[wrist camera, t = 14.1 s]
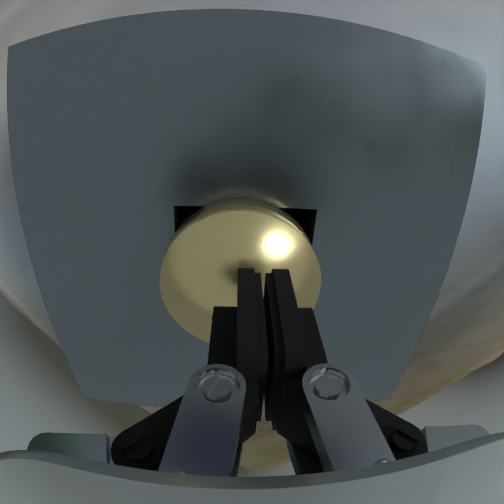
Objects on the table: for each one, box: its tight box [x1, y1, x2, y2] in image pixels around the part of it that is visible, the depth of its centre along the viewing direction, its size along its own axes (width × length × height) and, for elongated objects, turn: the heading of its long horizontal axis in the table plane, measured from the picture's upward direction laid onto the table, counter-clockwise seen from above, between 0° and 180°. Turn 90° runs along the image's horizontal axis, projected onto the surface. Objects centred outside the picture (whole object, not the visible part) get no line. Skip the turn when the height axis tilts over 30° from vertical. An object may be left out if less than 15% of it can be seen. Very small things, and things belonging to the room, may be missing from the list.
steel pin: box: [159, 198, 321, 343], centre depth 16 cm, size 6×6×10 cm
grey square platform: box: [7, 9, 486, 410], centre depth 17 cm, size 20×20×8 cm
